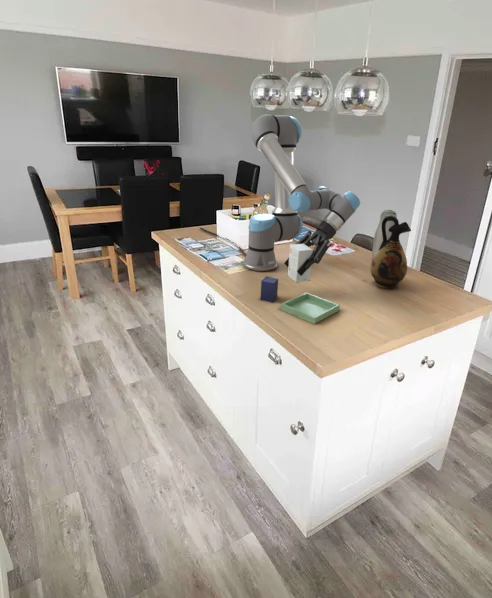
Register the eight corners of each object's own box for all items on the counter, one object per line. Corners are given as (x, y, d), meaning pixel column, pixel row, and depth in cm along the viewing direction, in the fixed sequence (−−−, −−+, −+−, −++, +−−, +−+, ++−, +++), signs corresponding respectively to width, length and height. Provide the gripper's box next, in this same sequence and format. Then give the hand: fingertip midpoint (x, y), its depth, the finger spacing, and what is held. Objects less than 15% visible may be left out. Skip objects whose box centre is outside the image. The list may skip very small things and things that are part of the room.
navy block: (260, 299, 160) (261, 280, 156) (265, 295, 164) (266, 276, 161) (272, 302, 158) (273, 283, 155) (277, 297, 163) (278, 278, 159)
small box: (310, 281, 164) (313, 249, 159) (295, 283, 161) (298, 251, 156) (301, 273, 171) (303, 243, 165) (287, 275, 168) (289, 244, 162)
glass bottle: (382, 262, 210) (391, 207, 198) (394, 269, 202) (405, 212, 190) (366, 264, 206) (374, 207, 194) (378, 271, 198) (388, 213, 186)
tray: (280, 309, 153) (280, 303, 152) (306, 297, 165) (306, 292, 164) (314, 324, 145) (315, 318, 144) (339, 310, 156) (339, 305, 155)
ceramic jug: (407, 283, 186) (420, 217, 174) (398, 294, 174) (411, 224, 161) (371, 274, 193) (381, 210, 181) (359, 285, 181) (370, 216, 168)
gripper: (351, 239, 159) (313, 284, 157) (318, 225, 174) (283, 265, 173) (342, 227, 154) (302, 273, 152) (309, 213, 169) (273, 255, 168)
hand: (292, 269), depth 163 cm, fingers closed on small box, 9 cm apart
